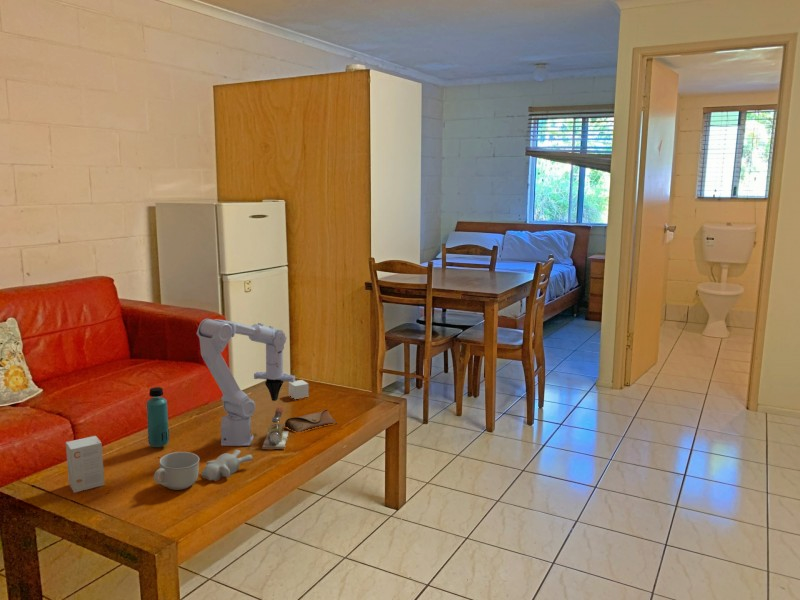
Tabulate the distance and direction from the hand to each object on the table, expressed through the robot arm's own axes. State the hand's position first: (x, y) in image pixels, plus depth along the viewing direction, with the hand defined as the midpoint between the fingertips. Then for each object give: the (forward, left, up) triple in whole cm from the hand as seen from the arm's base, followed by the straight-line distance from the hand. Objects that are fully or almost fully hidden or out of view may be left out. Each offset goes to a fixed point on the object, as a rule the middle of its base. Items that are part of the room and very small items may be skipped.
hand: (274, 399), depth 223 cm
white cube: (+5, +33, -11) cm, 35 cm away
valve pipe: (+2, -12, -10) cm, 16 cm away
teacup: (-22, -44, -11) cm, 50 cm away
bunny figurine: (-10, -35, -11) cm, 38 cm away
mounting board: (+2, -12, -10) cm, 16 cm away
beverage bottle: (-35, -17, -11) cm, 40 cm away
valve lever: (+2, -8, -4) cm, 9 cm away
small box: (-47, -43, -11) cm, 65 cm away
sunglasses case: (+13, +3, -11) cm, 17 cm away
